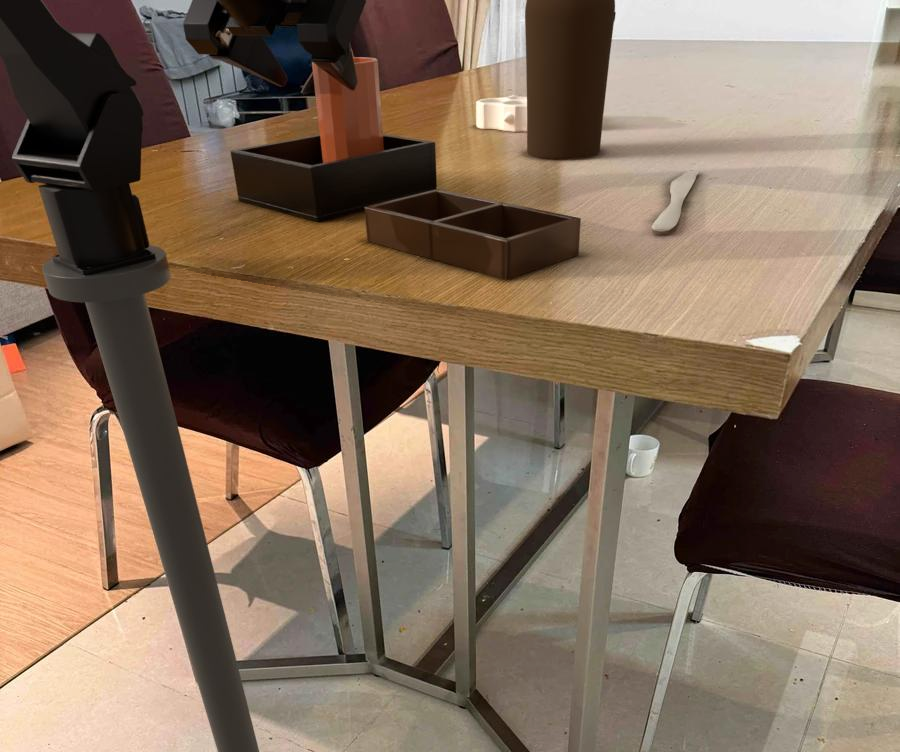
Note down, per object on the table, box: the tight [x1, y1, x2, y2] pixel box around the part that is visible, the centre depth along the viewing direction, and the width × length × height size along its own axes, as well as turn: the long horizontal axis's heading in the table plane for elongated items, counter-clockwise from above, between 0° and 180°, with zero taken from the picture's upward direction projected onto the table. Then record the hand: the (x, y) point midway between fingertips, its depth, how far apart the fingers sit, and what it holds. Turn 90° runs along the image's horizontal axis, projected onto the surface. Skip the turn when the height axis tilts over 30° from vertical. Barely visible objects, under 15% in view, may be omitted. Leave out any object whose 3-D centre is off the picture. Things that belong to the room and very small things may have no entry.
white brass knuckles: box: [475, 94, 527, 133], centre depth 125 cm, size 3×18×15 cm
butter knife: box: [651, 169, 700, 232], centre depth 87 cm, size 1×27×3 cm
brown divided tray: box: [364, 188, 582, 280], centre depth 75 cm, size 9×18×3 cm, turn 44°
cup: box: [311, 56, 384, 163], centre depth 91 cm, size 7×7×12 cm
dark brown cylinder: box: [524, 0, 617, 160], centre depth 101 cm, size 11×11×25 cm
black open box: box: [230, 133, 438, 223], centre depth 92 cm, size 17×15×5 cm
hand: (319, 84), depth 85 cm, fingers open, 9 cm apart
